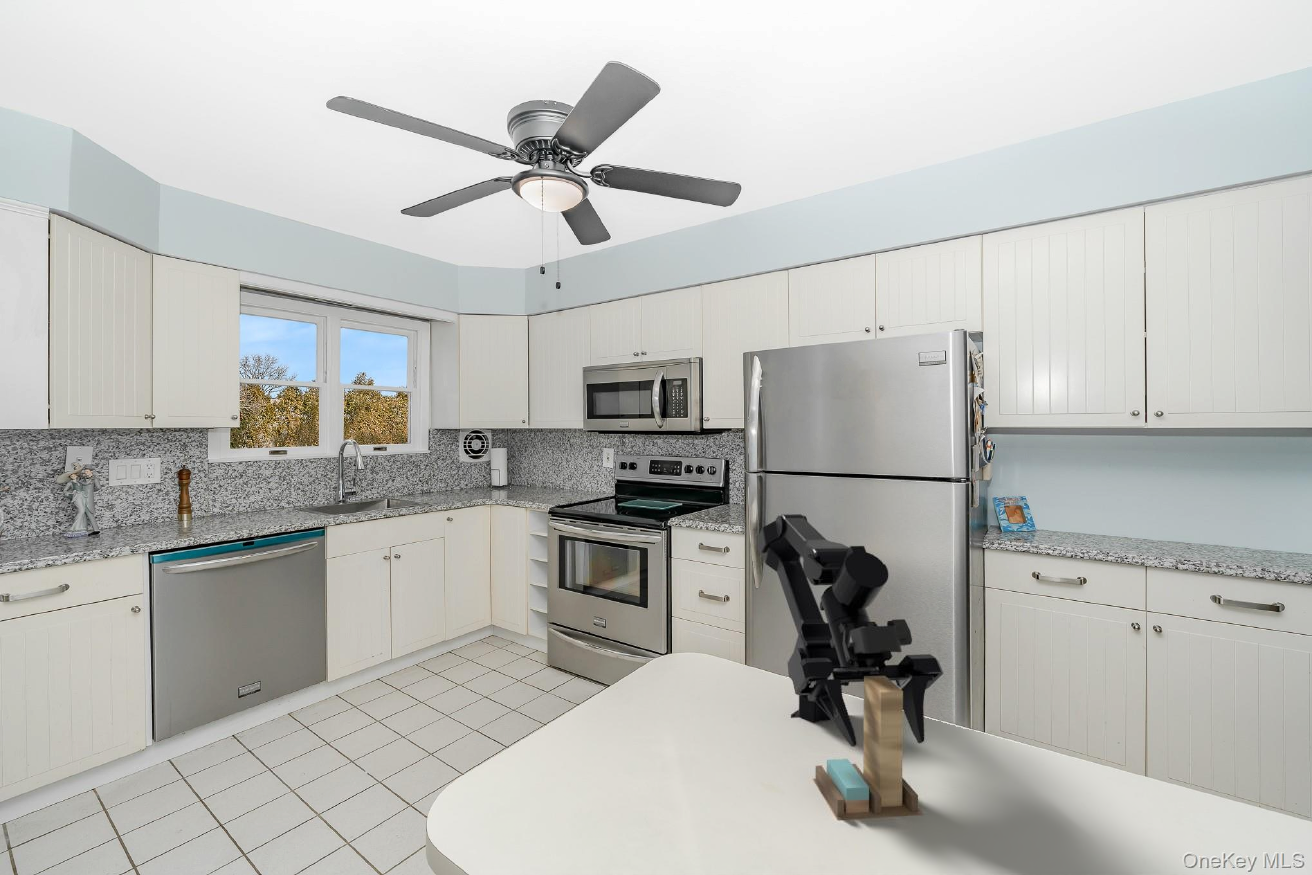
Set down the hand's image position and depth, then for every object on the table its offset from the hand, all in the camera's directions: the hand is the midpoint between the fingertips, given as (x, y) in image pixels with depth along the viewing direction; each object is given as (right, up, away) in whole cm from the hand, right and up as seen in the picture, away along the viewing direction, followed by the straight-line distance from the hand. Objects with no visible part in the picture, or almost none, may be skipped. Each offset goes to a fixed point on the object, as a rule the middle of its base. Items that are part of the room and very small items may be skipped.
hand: (888, 743), depth 70 cm
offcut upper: (-5, -6, +1) cm, 7 cm away
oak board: (0, -7, +1) cm, 7 cm away
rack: (-2, -8, +1) cm, 9 cm away
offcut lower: (-5, -7, +1) cm, 9 cm away
